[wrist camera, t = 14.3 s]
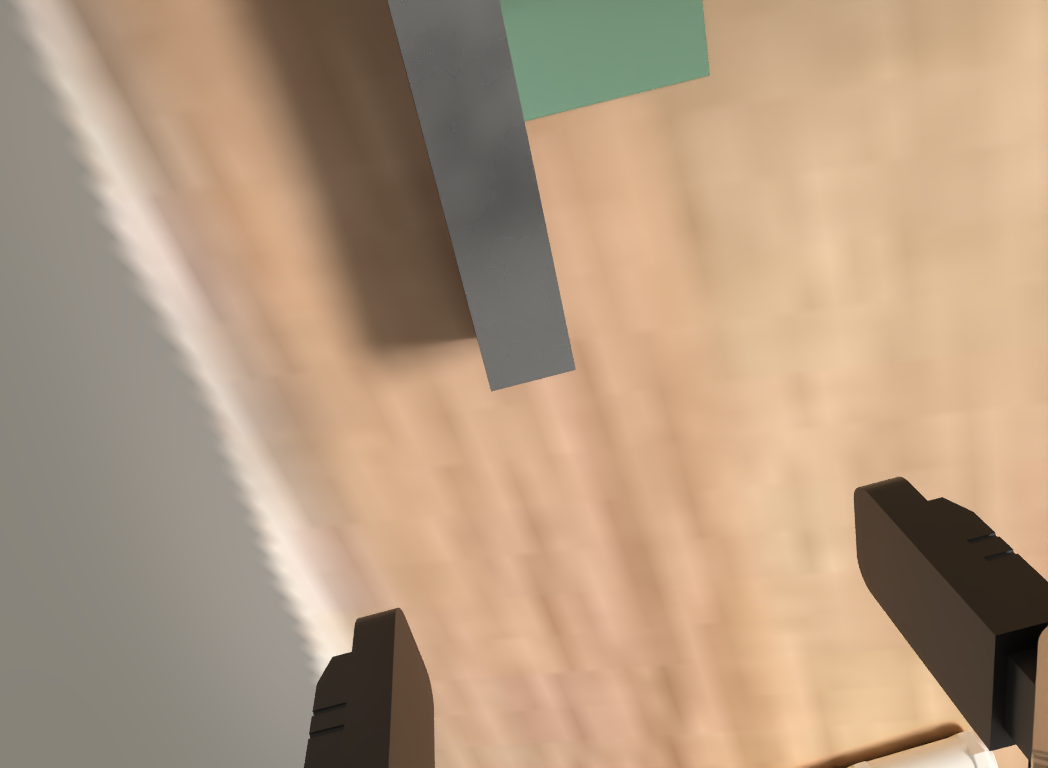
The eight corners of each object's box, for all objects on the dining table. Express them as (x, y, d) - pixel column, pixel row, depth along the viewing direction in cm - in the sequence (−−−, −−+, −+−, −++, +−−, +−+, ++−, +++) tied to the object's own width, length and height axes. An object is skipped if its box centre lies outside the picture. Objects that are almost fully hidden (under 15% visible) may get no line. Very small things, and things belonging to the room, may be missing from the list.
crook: (314, -285, 19) (294, -349, 15) (620, -356, 19) (671, -436, 15) (479, 337, 26) (491, 391, 23) (696, 282, 27) (742, 326, 23)
